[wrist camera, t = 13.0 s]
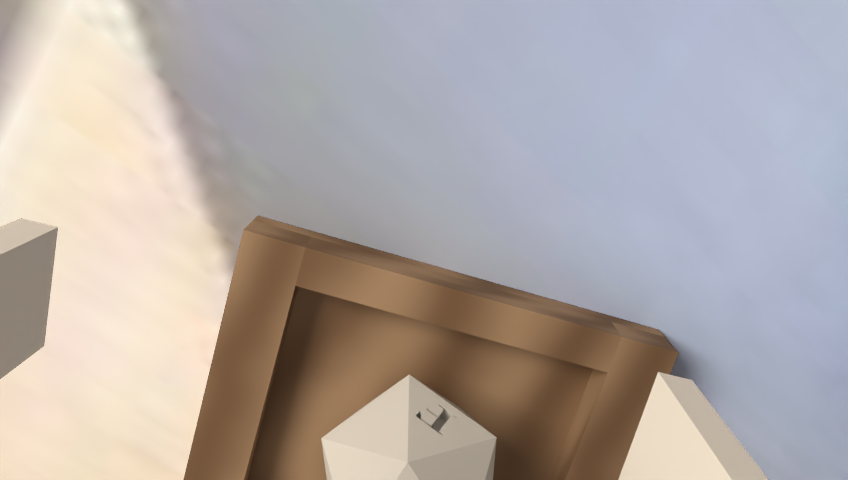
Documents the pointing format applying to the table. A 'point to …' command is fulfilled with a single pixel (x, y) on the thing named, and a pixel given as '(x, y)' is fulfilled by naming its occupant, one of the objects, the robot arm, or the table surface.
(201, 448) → the tray
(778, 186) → the table surface
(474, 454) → the die
